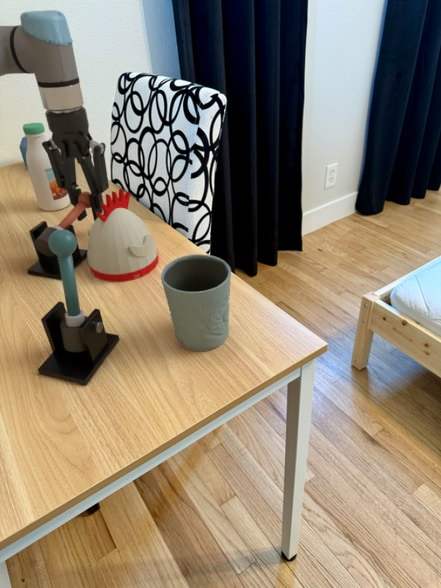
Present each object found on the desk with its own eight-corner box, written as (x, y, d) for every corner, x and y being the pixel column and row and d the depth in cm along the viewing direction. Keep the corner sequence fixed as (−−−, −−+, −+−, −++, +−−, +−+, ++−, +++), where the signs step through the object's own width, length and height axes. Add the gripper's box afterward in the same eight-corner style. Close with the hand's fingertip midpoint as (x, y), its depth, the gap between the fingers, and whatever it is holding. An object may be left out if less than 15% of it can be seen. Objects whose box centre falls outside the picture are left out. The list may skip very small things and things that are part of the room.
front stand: (76, 330, 71) (64, 291, 66) (120, 339, 69) (111, 300, 64) (38, 374, 63) (21, 333, 59) (86, 386, 61) (73, 345, 56)
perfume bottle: (25, 167, 133) (13, 127, 126) (38, 160, 138) (27, 121, 131) (42, 168, 132) (30, 128, 124) (54, 161, 136) (44, 122, 129)
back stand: (57, 249, 93) (47, 215, 88) (90, 254, 90) (82, 219, 86) (27, 274, 85) (14, 238, 80) (62, 280, 83) (51, 244, 78)
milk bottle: (45, 214, 106) (20, 131, 94) (35, 204, 111) (10, 124, 99) (75, 205, 110) (54, 125, 98) (64, 196, 115) (44, 118, 103)
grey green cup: (243, 340, 68) (243, 278, 61) (186, 364, 64) (179, 301, 57) (213, 306, 75) (209, 247, 68) (159, 326, 71) (150, 265, 64)
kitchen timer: (172, 256, 89) (164, 187, 80) (125, 289, 80) (110, 216, 71) (123, 238, 95) (111, 173, 86) (75, 268, 86) (55, 198, 77)
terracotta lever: (85, 202, 96) (78, 185, 93) (102, 204, 95) (96, 187, 92) (39, 254, 85) (30, 237, 81) (58, 258, 83) (50, 240, 80)
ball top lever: (57, 223, 59) (35, 233, 55) (84, 227, 58) (64, 237, 54) (75, 333, 67) (57, 349, 64) (99, 338, 66) (83, 354, 63)
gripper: (113, 105, 82) (132, 216, 96) (40, 101, 86) (68, 208, 101) (92, 115, 76) (115, 231, 91) (15, 111, 81) (48, 222, 95)
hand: (90, 219), depth 96 cm, fingers closed on terracotta lever, 4 cm apart
